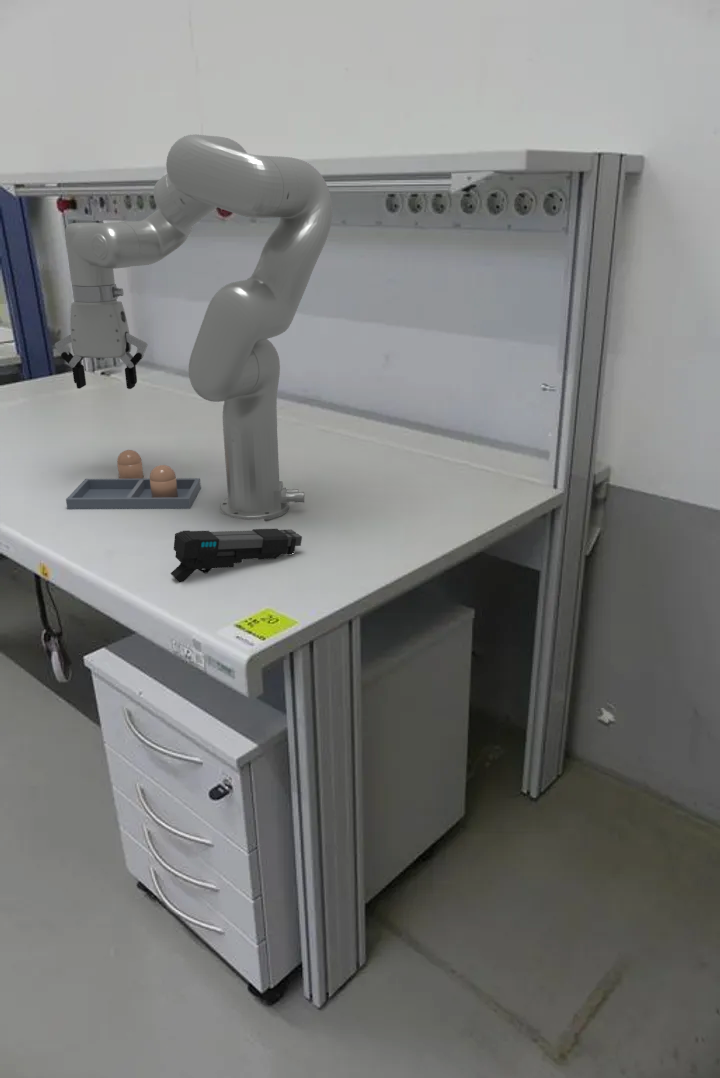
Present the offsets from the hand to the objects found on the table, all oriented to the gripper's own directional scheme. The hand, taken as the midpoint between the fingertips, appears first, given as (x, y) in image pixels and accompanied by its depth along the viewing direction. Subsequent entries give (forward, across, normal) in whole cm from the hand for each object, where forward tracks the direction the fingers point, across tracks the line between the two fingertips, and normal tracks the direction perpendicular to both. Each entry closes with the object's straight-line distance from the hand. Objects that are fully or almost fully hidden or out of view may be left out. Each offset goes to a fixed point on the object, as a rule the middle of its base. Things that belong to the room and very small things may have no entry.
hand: (106, 387), depth 155 cm
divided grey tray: (+20, -7, +10) cm, 23 cm away
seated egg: (+19, -12, +10) cm, 24 cm away
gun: (+20, -31, +38) cm, 53 cm away
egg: (+20, -2, -2) cm, 20 cm away
